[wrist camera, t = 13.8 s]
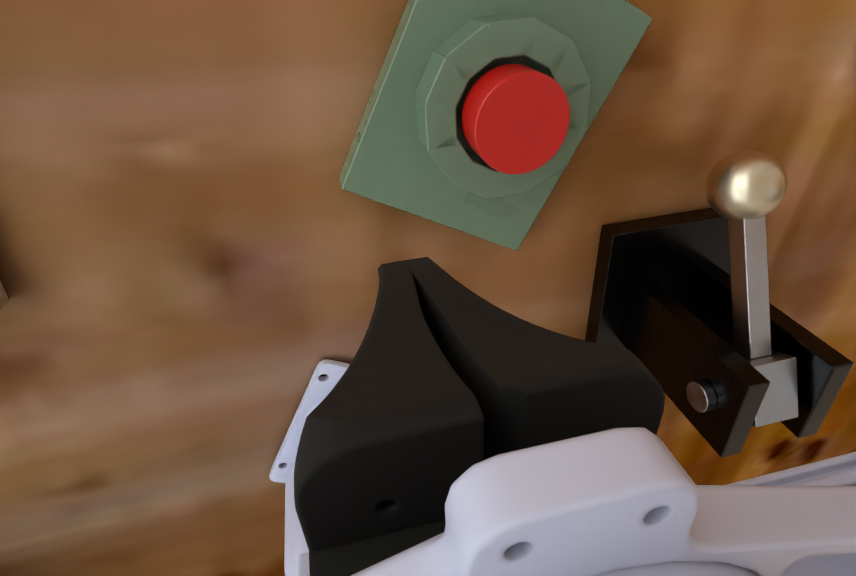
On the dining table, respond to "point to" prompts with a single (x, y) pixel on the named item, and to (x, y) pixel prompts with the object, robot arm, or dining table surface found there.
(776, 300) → the dining table surface
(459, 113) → the switch box
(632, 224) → the switch bracket
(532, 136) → the button
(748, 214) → the lever
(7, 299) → the banker's lamp
